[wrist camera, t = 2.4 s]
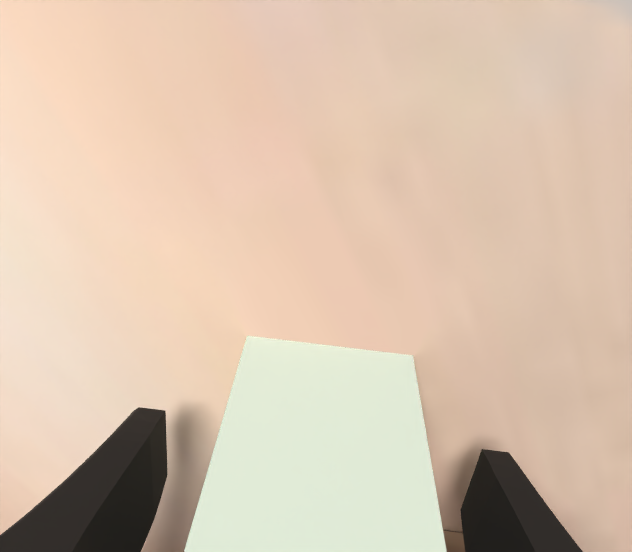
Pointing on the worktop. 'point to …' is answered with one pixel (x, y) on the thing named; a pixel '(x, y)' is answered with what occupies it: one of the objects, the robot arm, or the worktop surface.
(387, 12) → the worktop surface
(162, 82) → the worktop surface
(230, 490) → the block
